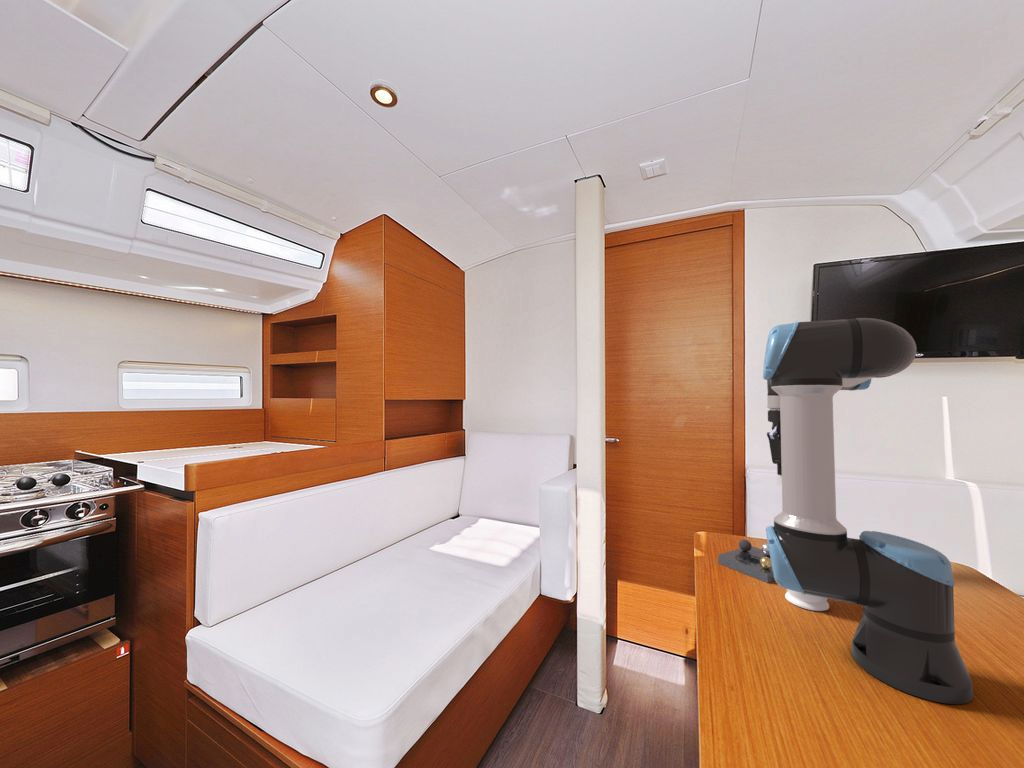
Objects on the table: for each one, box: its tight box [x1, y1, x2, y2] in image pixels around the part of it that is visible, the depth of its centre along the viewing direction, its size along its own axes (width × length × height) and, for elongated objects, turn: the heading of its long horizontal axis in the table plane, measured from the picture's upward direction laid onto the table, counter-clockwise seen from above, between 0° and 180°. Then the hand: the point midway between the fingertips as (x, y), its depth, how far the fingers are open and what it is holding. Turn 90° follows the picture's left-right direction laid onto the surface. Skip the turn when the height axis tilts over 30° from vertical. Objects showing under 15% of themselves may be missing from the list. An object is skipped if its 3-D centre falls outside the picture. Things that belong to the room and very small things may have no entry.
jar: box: [784, 589, 830, 612], centre depth 93 cm, size 11×10×15 cm
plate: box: [717, 545, 776, 584], centre depth 113 cm, size 16×14×2 cm
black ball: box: [738, 539, 753, 552], centre depth 118 cm, size 3×3×3 cm
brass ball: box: [760, 557, 772, 569], centre depth 106 cm, size 3×3×3 cm
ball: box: [760, 542, 770, 556], centre depth 115 cm, size 3×3×3 cm
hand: (783, 485), depth 120 cm, fingers closed
